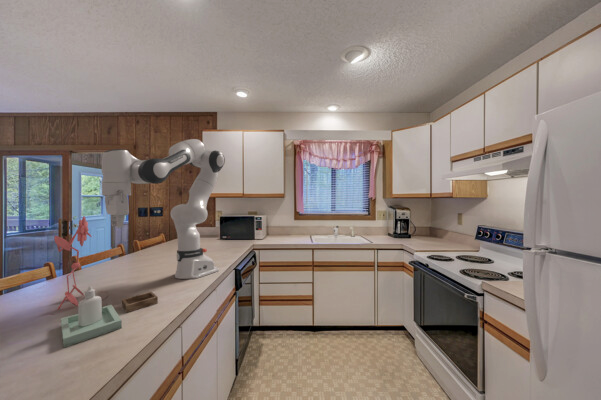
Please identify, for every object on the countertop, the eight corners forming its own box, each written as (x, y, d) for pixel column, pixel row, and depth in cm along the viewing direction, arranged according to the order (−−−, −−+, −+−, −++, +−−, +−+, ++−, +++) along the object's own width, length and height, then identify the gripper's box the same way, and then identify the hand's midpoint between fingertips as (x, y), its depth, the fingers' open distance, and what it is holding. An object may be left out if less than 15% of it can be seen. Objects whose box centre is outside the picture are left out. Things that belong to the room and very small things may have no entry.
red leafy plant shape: (45, 319, 79) (47, 218, 80) (69, 294, 101) (70, 215, 102) (103, 308, 88) (104, 217, 88) (113, 287, 109) (114, 214, 110)
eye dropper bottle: (79, 322, 75) (79, 286, 75) (102, 317, 79) (101, 282, 79) (77, 328, 72) (77, 290, 72) (101, 322, 75) (100, 286, 75)
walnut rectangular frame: (151, 297, 97) (151, 291, 97) (157, 303, 91) (157, 296, 91) (121, 305, 89) (121, 299, 89) (126, 312, 84) (126, 305, 84)
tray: (60, 325, 75) (60, 318, 75) (111, 311, 85) (111, 304, 85) (63, 347, 64) (63, 338, 64) (121, 327, 74) (121, 320, 74)
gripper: (133, 190, 84) (134, 227, 84) (121, 191, 97) (121, 224, 97) (111, 189, 79) (112, 229, 79) (102, 191, 93) (102, 225, 93)
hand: (117, 226), depth 88 cm, fingers open, 8 cm apart
